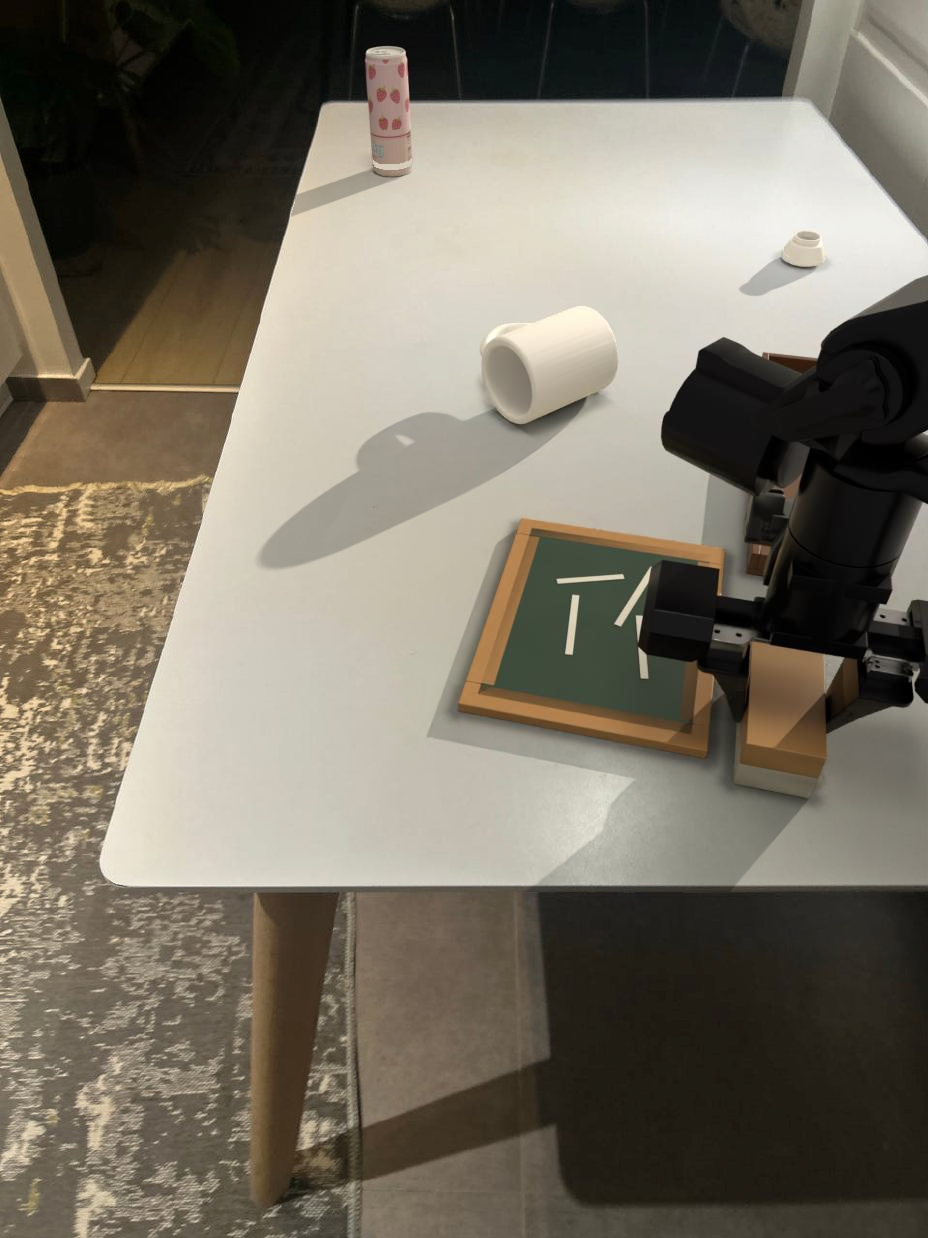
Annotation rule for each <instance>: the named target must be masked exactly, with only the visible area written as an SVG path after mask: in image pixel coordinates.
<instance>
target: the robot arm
mask: <svg viewBox="0 0 928 1238" xmlns="http://www.w3.org/2000/svg"><path fill="white" fill-rule="evenodd" d="M817 358H818V359H817V362H816V366H814V367H813V368H811V369H809V370H808V371H806V372H805V373H803V374H801V373H799V372H797V371H794V370H792V369H790V368H787V367H785V366H783V365H780V364H778V363H775V362H773V361H771V360H768V359H766V358H764V357H762V355H759V354H756V353H755V352H753V351H752V350H751V349H749V348H747V347H746V346H744V345H743V344H742V343H739V342H737V341H734V340H732V339H730V338H727V337H725V336H722V337H721V338H718V339H717V340H715V341H714V342H711V343H710V344H708V345H705V346H704V347H702V348H701V349H699V350H698V352H697V357H696V363H695V367H694V369H693V370H692V371H691V372H690V374H689V375H688V376H687V377H686V378H685V380H684V381H683V383H682V384H681V386H680V387H679V389H678V390H677V392H676V393H675V396H674V397H673V398H674V399H673V400H672V402H671V403H670V406H669V409H668V410H667V411H666V412H665V413H664V415H663V417H662V421H661V427H660V428H661V429H660V441H661V445H662V447H663V449H664V450H665V451H666V452H668V453H669V454H671V455H673V456H675V457H677V458H679V459H680V460H682V461H684V462H686V463H688V464H690V465H692V466H694V467H696V468H698V469H699V470H701V471H704V472H706V474H709V475H712V476H713V477H715V478H717V479H719V480H720V481H723V482H724V483H727V484H728V485H731V486H732V487H734V488H736V489H738V490H740V491H742V492H744V493H745V494H748V495H750V496H749V499H748V502H747V505H746V506H747V507H746V512H745V515H744V520H743V526H742V536H743V537H742V539H743V542H744V543H745V544H748V543H749V544H756V545H763V546H770V551H769V554H768V558H767V561H766V564H765V568H764V571H763V575H762V586H765V587H767V589H766V593H765V596H755V597H754V598H753V600H751V599H743V598H737V597H732V596H727V595H726V596H725V595H721V596H719V595H717V594H718V583H719V572H720V569H719V568H712V567H706V566H699V565H693V564H687V563H680V562H674V561H667V560H661V561H660V562H658V563H657V564H656V565H654V566H653V567H652V568H651V571H650V577H649V582H648V588H647V594H646V600H645V605H644V611H643V617H642V623H641V629H640V634H639V640H638V647H639V648H640V649H641V650H642V651H643V652H644V653H645V654H646V655H651V656H657V657H662V658H668V659H674V660H680V661H685V662H691V663H692V662H694V661H696V660H697V661H696V666H697V668H698V669H699V670H700V671H701V672H703V673H707V674H711V675H713V676H714V680H715V681H716V682H717V684H718V686H719V687H720V690H721V691H722V692H723V694H724V696H725V698H726V701H727V705H728V709H729V712H730V715H731V718H732V721H733V723H736V724H737V723H740V721H741V719H742V717H743V715H744V712H745V703H746V695H747V687H748V678H749V664H750V644H751V642H759V643H765V644H770V645H772V646H778V647H784V648H790V649H796V650H802V651H808V652H814V653H820V654H824V655H827V656H833V657H840V658H843V659H842V661H841V662H840V665H839V667H838V669H837V671H836V673H835V675H834V677H833V679H832V680H831V682H830V684H829V686H828V688H827V689H826V691H825V706H826V735H828V734H830V733H832V732H834V731H836V730H838V729H840V728H842V727H845V726H847V725H848V724H851V723H852V722H855V721H857V720H859V719H862V718H865V717H867V716H870V715H873V714H875V713H879V712H881V711H884V710H887V709H890V708H899V709H900V708H901V709H905V708H909V707H910V706H911V705H912V703H913V701H914V699H915V695H914V692H915V693H916V694H917V696H918V697H919V698H920V699H921V700H922V702H923V703H924V704H926V705H928V600H926V599H912V600H910V603H909V605H908V607H907V610H906V611H903V610H895V609H890V608H884V607H881V606H880V605H883V606H887V605H888V602H889V600H890V598H891V596H892V593H893V591H894V589H893V580H892V577H893V575H894V572H895V571H896V568H897V565H898V563H899V561H900V558H901V556H902V554H903V552H904V548H905V546H906V544H907V541H908V539H909V538H910V537H909V536H910V535H911V532H912V529H913V527H914V525H915V522H916V520H917V518H918V516H919V513H920V511H921V508H922V506H923V504H926V505H928V434H926V432H928V274H927V275H924V276H921V277H917V278H915V279H913V280H912V281H910V282H908V283H907V284H905V285H903V286H901V287H900V288H898V289H896V290H895V291H893V292H891V293H890V294H888V295H887V296H885V297H884V298H882V299H880V300H878V301H876V302H875V303H873V304H871V305H870V306H869V307H867V308H865V309H863V310H861V311H860V312H858V313H857V314H854V315H853V316H852V317H849V318H848V319H846V320H845V321H844V322H842V323H840V324H839V325H838V326H835V328H833V329H831V330H830V332H828V334H827V335H826V336H825V337H824V338H823V339H822V341H821V343H820V351H819V353H818V356H817ZM801 474H802V476H801V479H800V483H799V486H798V489H797V493H796V496H795V499H785V496H784V491H783V490H782V489H777V488H773V487H774V486H775V485H776V486H778V487H780V488H786V487H788V486H790V485H791V484H792V483H793V482H795V481H796V480H797V479H798V477H799V476H800V475H801ZM915 672H918V674H917V676H916V678H915V681H914V683H913V678H914V675H915ZM913 686H914V687H913Z"/></svg>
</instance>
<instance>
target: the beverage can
mask: <svg viewBox="0 0 928 1238" xmlns="http://www.w3.org/2000/svg"><path fill="white" fill-rule="evenodd" d="M406 52H407V51H406V50H405V49H404V48H403V47H399V46H394V45H393V46H391V45H385V46H384V45H383V46H376V47H371V48H368V49H367V50H366V52H365V59H364V64H365V79H366V92H367V106H368V120H369V121H368V122H369V132H370V147H371V160H372V159H373V160H374V161H375V162H377V163H379V164H400V163H404V162H406V161H409V160H410V159H411V158H412V159H413V147H412V132H411V131H412V128H411V110H410V108H411V107H410V90H409V89H410V88H409V70H408V69H409V68H408V58H407V55H406ZM413 167H414V166H413V163H412V164H411V166H409V167H407V168H404V169H399V170H383V169H379V168H376V167H374V166H373V165H372V170H373V171H374V172H375V173H376V174H377V175H378V176H381V177H387V178H388V177H394V178H395V177H401V176H402V177H403V176H405V175H407V174H409V173H410V172H411V171H412V170H413Z"/></svg>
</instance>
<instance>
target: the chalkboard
mask: <svg viewBox="0 0 928 1238" xmlns="http://www.w3.org/2000/svg"><path fill="white" fill-rule="evenodd" d="M725 556H726V548H722V547H716V546H709V545H704V544H696V543H691V542H690V543H689V542H684V541H676V540H670V539H664V538H657V537H650V536H643V535H639V534H638V535H637V534H632V533H625V532H624V533H623V532H617V531H611V530H603V529H597V528H591V527H585V526H584V527H583V526H578V525H571V524H564V523H558V522H551V521H546V520H545V521H544V520H538V519H531V518H524V517H521V518H520V521H519V524H518V527H517V530H516V532H515V536H514V538H513V542H512V545H511V548H510V550H509V554H508V557H507V560H506V562H505V565H504V568H503V570H502V574H501V577H500V579H499V583H498V586H497V588H496V592H495V594H494V597H493V600H492V603H491V606H490V609H489V612H488V615H487V617H486V620H485V623H484V627H483V629H482V632H481V635H480V638H479V641H478V644H477V647H476V650H475V653H474V655H473V658H472V662H471V665H470V668H469V670H468V673H467V676H466V679H465V682H464V685H463V688H462V690H461V693H460V696H459V699H458V701H457V709H458V712H463V713H468V714H474V715H479V716H484V717H489V718H495V719H499V720H500V719H501V720H504V721H509V722H516V723H521V724H525V725H530V726H535V727H541V728H546V729H552V730H557V731H561V732H568V733H572V734H577V735H583V736H588V737H593V738H598V739H603V740H607V741H608V740H609V741H612V742H619V743H623V744H629V745H633V746H634V745H635V746H638V747H639V746H640V747H644V748H649V749H655V750H660V751H665V752H671V753H675V754H681V755H686V756H691V757H695V758H696V757H697V758H701V759H706V758H707V754H708V750H709V742H710V741H709V740H710V728H711V718H712V706H713V695H714V685H715V683H714V682H715V677H714V676H713V675H711V674H707V673H703V672H701V671H700V670H699V669H698V668H697V666H696V661H697V660H696V661H694V662H692V663H691V662H685V661H680V660H674V659H668V658H662V657H657V656H651V655H646V654H645V653H644V652H643V651H642V650H641V649H640V648H639V647H638V640H639V634H640V629H641V623H642V617H643V611H644V605H645V600H646V594H647V588H648V582H649V577H650V571H651V568H652V567H653V566H654V565H656V564H657V563H658V562H660V561H661V560H667V561H674V562H680V563H687V564H693V565H699V566H706V567H712V568H719V569H720V572H719V583H718V594H717V595H719V596H722V591H723V579H724V568H725V567H724V565H725Z"/></svg>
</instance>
